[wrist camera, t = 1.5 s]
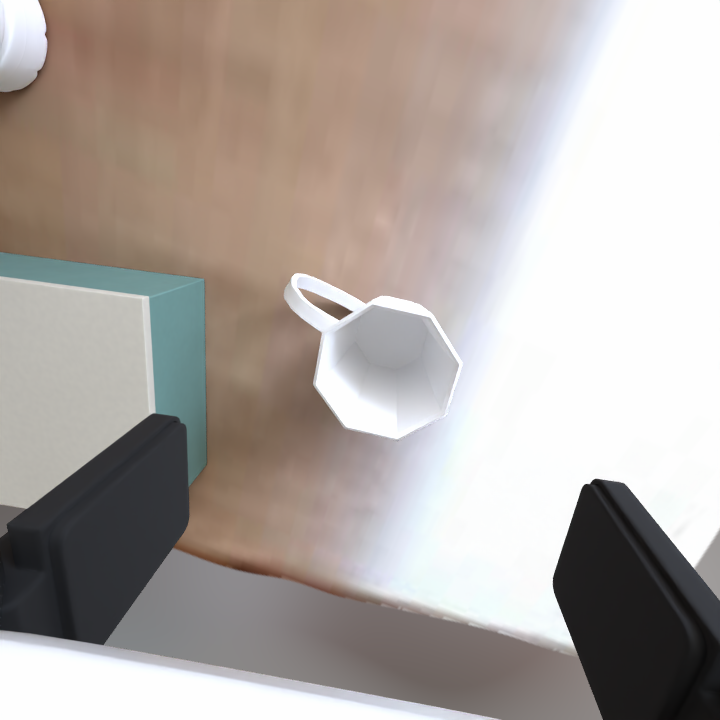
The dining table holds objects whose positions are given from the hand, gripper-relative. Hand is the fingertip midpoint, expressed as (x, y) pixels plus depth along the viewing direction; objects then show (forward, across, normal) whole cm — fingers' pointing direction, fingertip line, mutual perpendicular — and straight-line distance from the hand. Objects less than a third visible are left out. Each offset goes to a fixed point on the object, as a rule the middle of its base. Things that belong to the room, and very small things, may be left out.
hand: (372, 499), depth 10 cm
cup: (+18, +2, 0) cm, 18 cm away
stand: (+18, +20, +6) cm, 28 cm away
